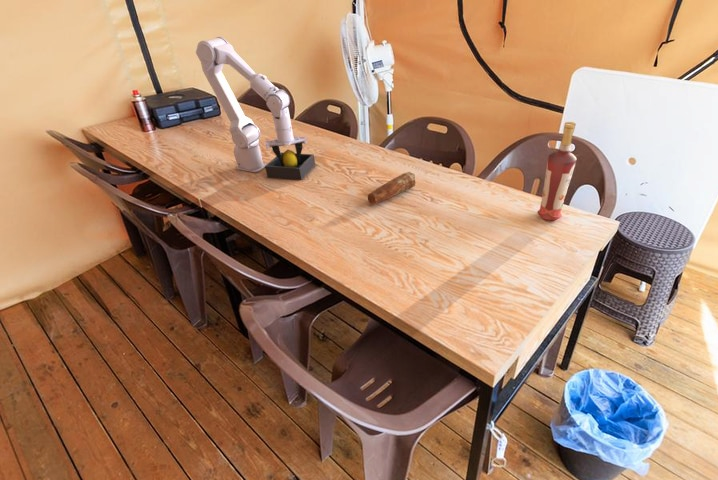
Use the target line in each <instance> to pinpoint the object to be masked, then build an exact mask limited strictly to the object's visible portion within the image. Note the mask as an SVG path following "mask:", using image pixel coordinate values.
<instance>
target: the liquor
mask: <svg viewBox="0 0 718 480" xmlns="http://www.w3.org/2000/svg"><path fill="white" fill-rule="evenodd" d="M576 125H577V124H576V122H574V121H566V122H564V125H563V134H562V137H561V141H560V144H559V147H558V150H557V151H553V152H551V153H549V155H548V157H547V164H546V169H545V175H544V183H543V189H542V196H541V201H540V206H539V210H538V211H537V215H538V216H539V217H540V218H541V219H542V220H544V221H546V222H555V221H557V220H559V219H561V218H562V215H563V214H562V210H563V207H564V202H565V198H566V195H567V192H568V188H569V186H570V183H571V179H572V178H573V173H574V170H575V167H576V164H577V157H576V156H575V154H574V153H572V152H571V146H572V140H573V135H574V132H575V130H576Z"/></svg>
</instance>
